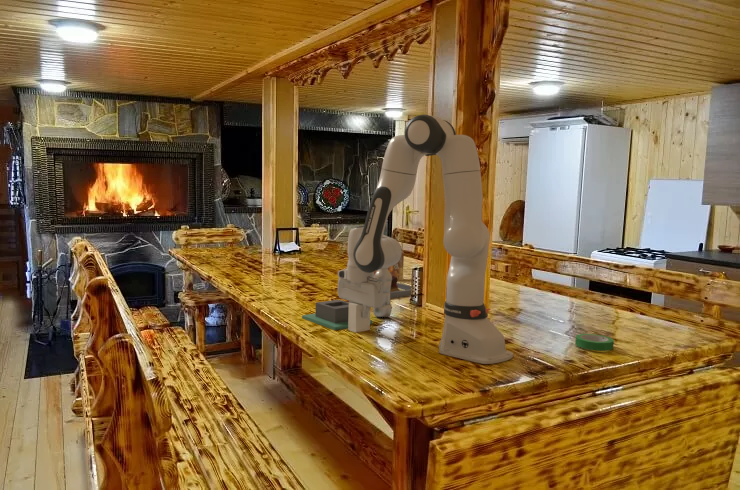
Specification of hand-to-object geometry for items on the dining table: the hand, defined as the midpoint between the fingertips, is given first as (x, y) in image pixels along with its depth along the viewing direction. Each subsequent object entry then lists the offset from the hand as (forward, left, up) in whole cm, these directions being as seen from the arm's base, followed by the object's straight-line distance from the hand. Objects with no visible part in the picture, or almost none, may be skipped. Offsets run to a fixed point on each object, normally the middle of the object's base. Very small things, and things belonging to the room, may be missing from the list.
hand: (359, 316), depth 191 cm
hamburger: (+44, -49, -5) cm, 66 cm away
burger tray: (+42, -49, -5) cm, 65 cm away
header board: (+14, -1, -5) cm, 15 cm away
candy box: (+64, -71, -5) cm, 96 cm away
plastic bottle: (+10, -18, -5) cm, 21 cm away
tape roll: (-55, -50, -5) cm, 75 cm away
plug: (0, 0, -5) cm, 5 cm away
